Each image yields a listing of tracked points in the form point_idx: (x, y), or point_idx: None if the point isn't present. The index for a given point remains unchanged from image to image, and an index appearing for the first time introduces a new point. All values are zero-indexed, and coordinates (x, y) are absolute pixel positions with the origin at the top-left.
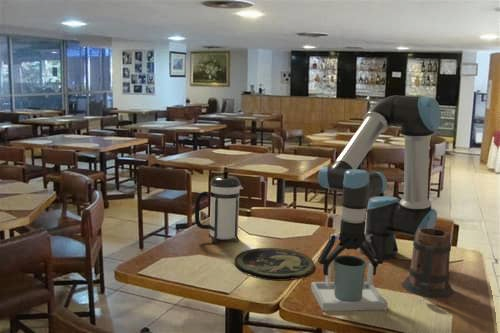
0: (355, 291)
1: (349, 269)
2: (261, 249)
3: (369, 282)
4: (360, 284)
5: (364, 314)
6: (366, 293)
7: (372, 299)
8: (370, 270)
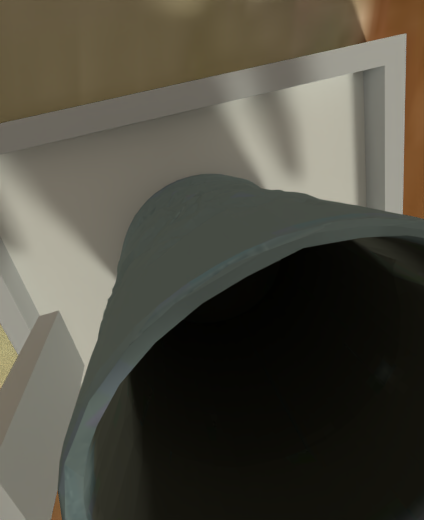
0: (179, 192)
1: (360, 211)
2: None
3: (58, 336)
4: (142, 232)
5: (102, 40)
6: (92, 328)
7: (50, 254)
8: (22, 425)
